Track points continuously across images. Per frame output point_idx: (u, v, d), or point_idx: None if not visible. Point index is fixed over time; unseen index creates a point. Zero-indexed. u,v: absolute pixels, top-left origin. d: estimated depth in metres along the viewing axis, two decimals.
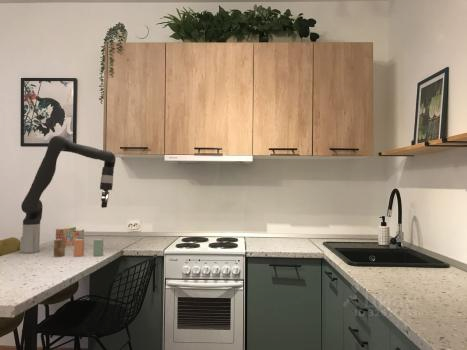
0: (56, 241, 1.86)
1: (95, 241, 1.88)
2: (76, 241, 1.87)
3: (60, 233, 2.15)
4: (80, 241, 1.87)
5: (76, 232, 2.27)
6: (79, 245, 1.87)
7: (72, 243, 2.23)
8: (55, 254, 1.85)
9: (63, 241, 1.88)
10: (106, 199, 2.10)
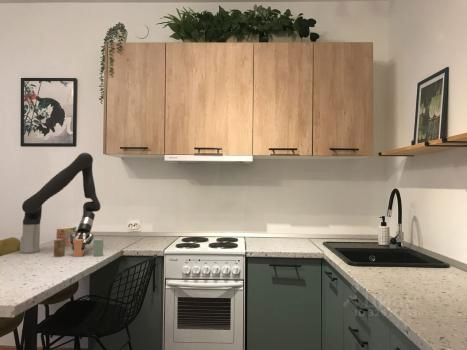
0: (56, 241, 1.86)
1: (95, 241, 1.88)
2: (76, 241, 1.87)
3: (60, 233, 2.16)
4: (80, 241, 1.87)
5: (76, 232, 2.28)
6: (79, 245, 1.87)
7: None
8: (55, 254, 1.85)
9: (63, 241, 1.88)
10: None
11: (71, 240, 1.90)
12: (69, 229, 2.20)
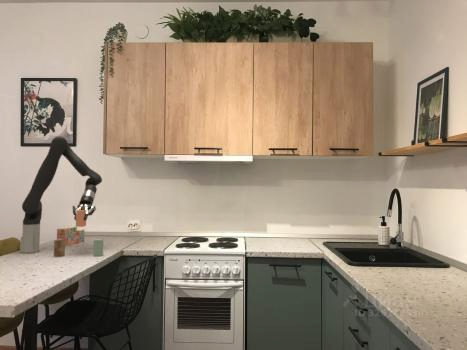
0: (56, 241, 1.86)
1: (95, 241, 1.88)
2: (78, 211, 1.90)
3: (61, 233, 2.16)
4: (82, 211, 1.90)
5: (77, 232, 2.29)
6: (81, 215, 1.90)
7: (73, 243, 2.24)
8: (55, 254, 1.85)
9: (63, 241, 1.88)
10: None
11: (73, 211, 1.93)
12: (69, 229, 2.20)
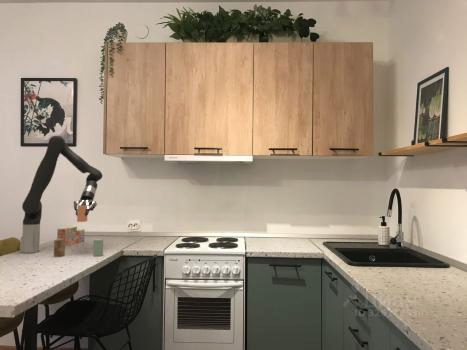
0: (56, 241, 1.86)
1: (95, 241, 1.88)
2: (79, 207, 1.92)
3: (61, 233, 2.16)
4: (83, 207, 1.92)
5: (77, 232, 2.29)
6: (82, 211, 1.92)
7: (73, 243, 2.25)
8: (55, 254, 1.85)
9: (63, 241, 1.88)
10: (77, 208, 1.96)
11: (75, 206, 1.95)
12: (70, 229, 2.21)
